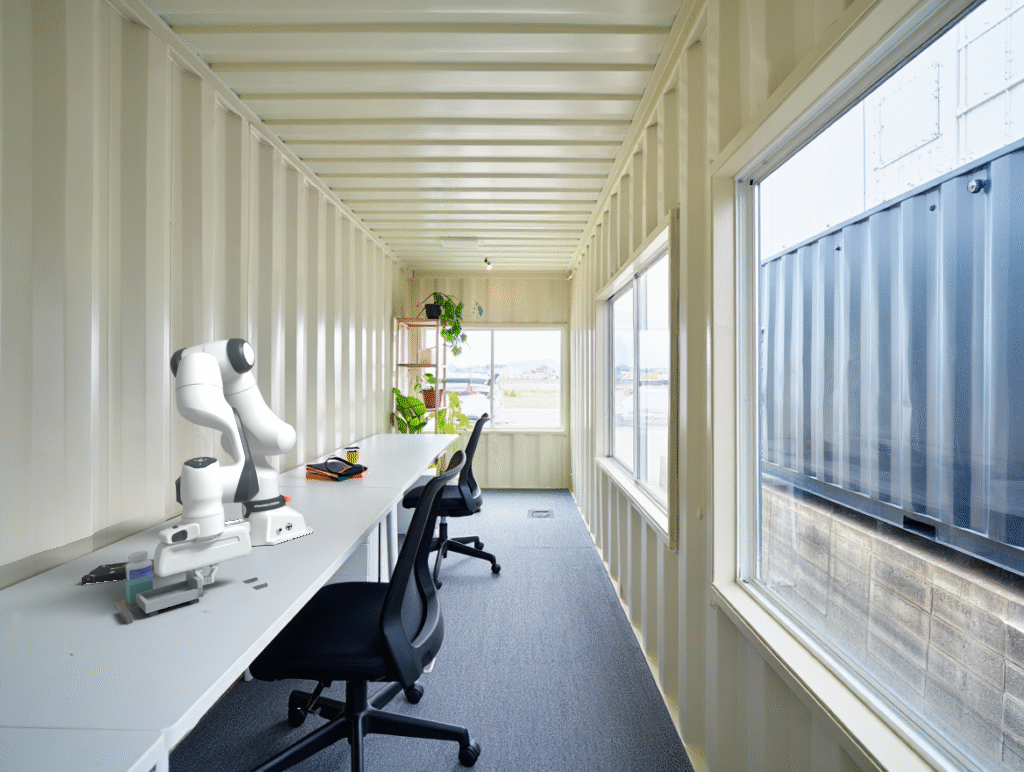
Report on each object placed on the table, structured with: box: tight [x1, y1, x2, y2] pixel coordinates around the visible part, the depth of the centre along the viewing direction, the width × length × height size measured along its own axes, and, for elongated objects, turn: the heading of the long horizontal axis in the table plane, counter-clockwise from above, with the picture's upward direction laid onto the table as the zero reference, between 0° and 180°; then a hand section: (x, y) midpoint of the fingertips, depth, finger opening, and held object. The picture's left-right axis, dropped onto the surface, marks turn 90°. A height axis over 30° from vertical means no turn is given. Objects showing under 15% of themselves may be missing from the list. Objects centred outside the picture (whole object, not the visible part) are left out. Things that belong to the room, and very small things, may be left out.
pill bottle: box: [125, 550, 154, 581], centre depth 131 cm, size 5×5×10 cm
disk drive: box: [80, 558, 154, 585], centre depth 144 cm, size 10×3×15 cm
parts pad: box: [113, 599, 139, 610], centre depth 123 cm, size 9×6×1 cm, turn 137°
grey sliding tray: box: [136, 570, 204, 618], centre depth 119 cm, size 11×9×6 cm
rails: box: [118, 577, 269, 625], centre depth 123 cm, size 29×8×3 cm, turn 137°
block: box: [124, 576, 154, 605], centre depth 123 cm, size 4×4×4 cm
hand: (206, 583), depth 124 cm, fingers closed
